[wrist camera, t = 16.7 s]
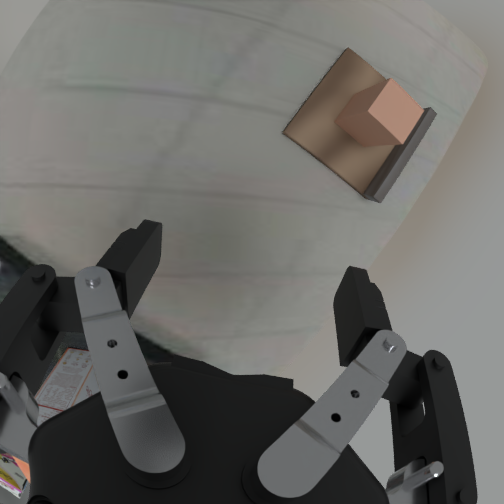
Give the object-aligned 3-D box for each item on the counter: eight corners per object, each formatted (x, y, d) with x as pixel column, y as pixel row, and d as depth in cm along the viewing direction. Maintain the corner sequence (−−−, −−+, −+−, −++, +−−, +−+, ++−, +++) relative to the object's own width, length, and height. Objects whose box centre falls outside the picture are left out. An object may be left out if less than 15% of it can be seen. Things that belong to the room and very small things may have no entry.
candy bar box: (52, 429, 44) (23, 492, 28) (48, 440, 44) (21, 500, 29) (4, 396, 41) (-34, 452, 25) (2, 409, 42) (-32, 463, 26)
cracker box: (117, 419, 43) (88, 523, 23) (85, 413, 43) (46, 510, 23) (104, 350, 40) (49, 462, 20) (67, 345, 39) (1, 445, 19)
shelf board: (282, 132, 35) (289, 129, 31) (345, 49, 32) (357, 39, 28) (367, 199, 38) (381, 204, 34) (420, 117, 35) (438, 115, 31)
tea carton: (334, 121, 34) (367, 111, 25) (354, 93, 33) (391, 77, 24) (364, 147, 35) (404, 145, 26) (383, 120, 34) (425, 111, 25)
